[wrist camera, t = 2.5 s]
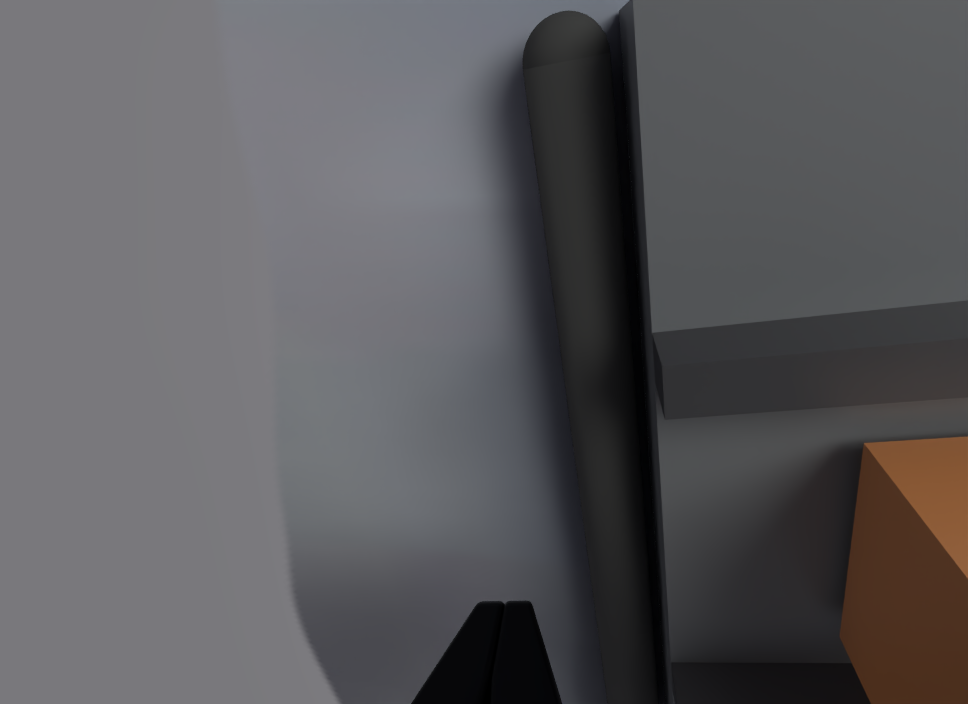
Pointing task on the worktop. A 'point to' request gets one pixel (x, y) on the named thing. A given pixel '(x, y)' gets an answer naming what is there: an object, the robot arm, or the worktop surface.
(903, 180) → the panel
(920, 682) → the orange block
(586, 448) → the dark grey rod
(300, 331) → the worktop surface
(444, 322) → the worktop surface
